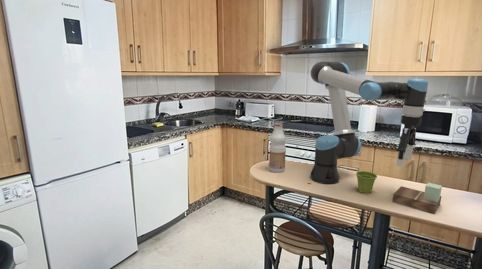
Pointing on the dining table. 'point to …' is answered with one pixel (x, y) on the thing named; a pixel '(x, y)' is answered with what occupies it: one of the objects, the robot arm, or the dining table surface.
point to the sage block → (432, 192)
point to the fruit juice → (277, 149)
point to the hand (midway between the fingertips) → (403, 162)
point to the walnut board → (415, 200)
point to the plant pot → (365, 181)
